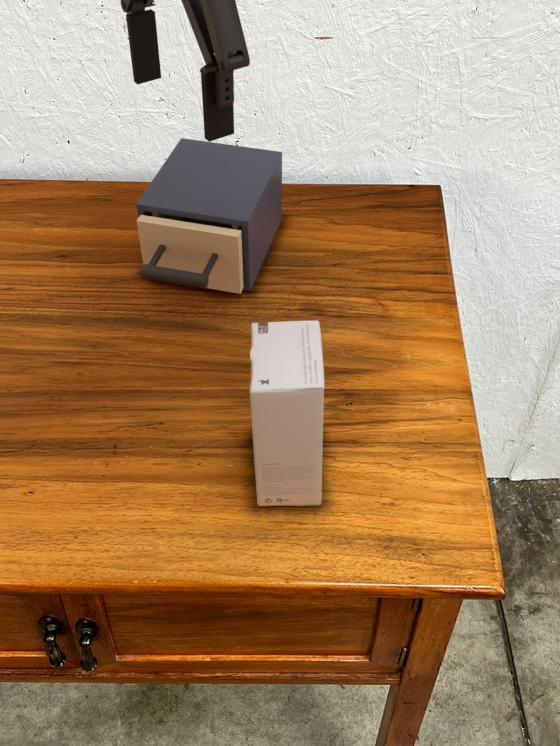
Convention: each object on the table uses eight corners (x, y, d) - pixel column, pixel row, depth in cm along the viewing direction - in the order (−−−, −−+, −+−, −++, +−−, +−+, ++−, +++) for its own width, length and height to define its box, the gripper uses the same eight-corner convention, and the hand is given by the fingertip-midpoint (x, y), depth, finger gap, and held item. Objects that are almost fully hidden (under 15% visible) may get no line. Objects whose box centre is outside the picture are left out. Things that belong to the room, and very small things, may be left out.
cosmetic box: (321, 507, 68) (330, 392, 57) (253, 508, 68) (248, 393, 57) (316, 433, 74) (323, 316, 63) (253, 434, 74) (249, 317, 63)
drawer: (226, 324, 83) (223, 267, 78) (127, 306, 85) (117, 249, 80) (271, 225, 96) (271, 170, 90) (184, 212, 98) (178, 156, 92)
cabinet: (250, 291, 88) (248, 221, 82) (146, 274, 91) (135, 204, 84) (281, 219, 98) (282, 151, 91) (187, 205, 100) (181, 137, 94)
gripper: (296, -126, 54) (289, 150, 69) (128, -191, 68) (153, 51, 83) (204, -110, 51) (217, 176, 66) (48, -181, 65) (89, 68, 80)
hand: (181, 106), depth 75 cm, fingers open, 13 cm apart
